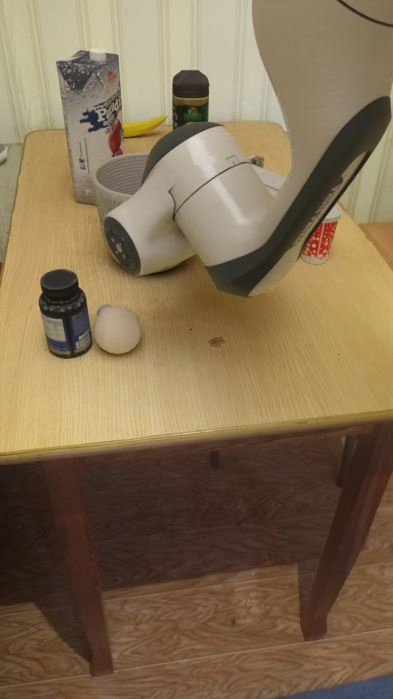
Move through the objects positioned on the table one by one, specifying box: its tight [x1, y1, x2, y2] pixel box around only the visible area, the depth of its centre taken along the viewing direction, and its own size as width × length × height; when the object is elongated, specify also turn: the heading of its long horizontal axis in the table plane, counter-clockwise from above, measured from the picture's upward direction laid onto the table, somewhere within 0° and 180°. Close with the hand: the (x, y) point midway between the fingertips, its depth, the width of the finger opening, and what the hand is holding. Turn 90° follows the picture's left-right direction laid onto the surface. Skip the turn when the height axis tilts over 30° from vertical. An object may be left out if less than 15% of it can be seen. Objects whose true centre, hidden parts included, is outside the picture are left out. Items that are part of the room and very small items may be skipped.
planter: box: [92, 151, 184, 274], centre depth 91 cm, size 17×17×15 cm
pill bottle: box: [38, 268, 93, 359], centre depth 74 cm, size 6×6×11 cm
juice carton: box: [55, 47, 126, 206], centre depth 105 cm, size 9×10×27 cm
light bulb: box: [92, 303, 143, 355], centre depth 77 cm, size 7×7×11 cm
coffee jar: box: [171, 69, 211, 131], centre depth 122 cm, size 10×8×19 cm
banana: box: [123, 115, 169, 138], centre depth 136 cm, size 3×19×6 cm, turn 96°
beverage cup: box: [300, 204, 343, 265], centre depth 92 cm, size 6×6×14 cm
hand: (286, 170), depth 77 cm, fingers open, 8 cm apart
